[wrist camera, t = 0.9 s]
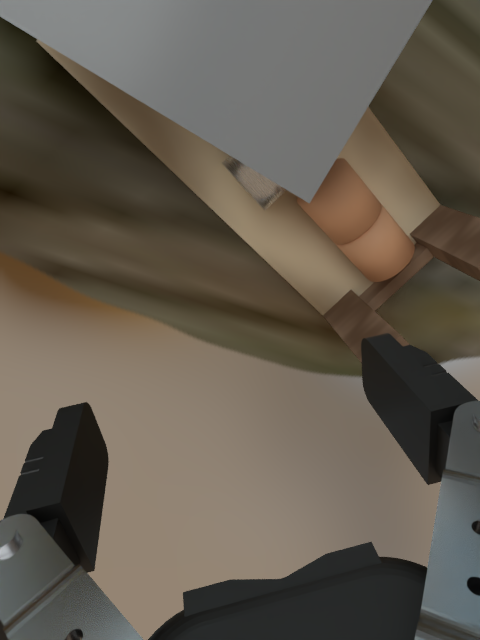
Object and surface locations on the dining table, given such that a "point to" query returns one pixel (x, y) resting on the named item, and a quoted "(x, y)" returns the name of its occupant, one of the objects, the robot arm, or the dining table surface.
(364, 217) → the roller
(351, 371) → the dining table surface
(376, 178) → the deck
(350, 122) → the slab
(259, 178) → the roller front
